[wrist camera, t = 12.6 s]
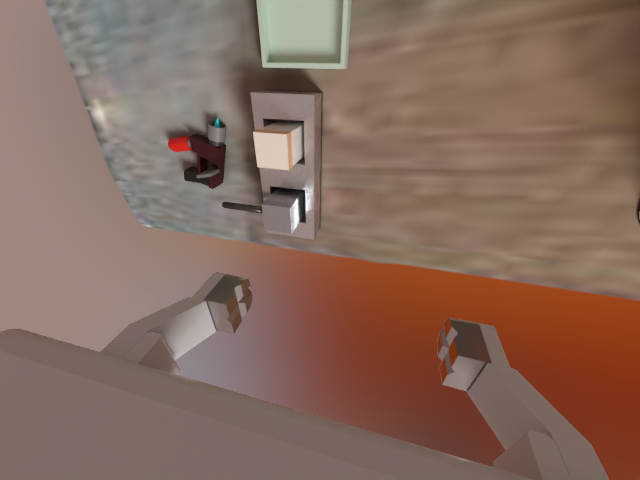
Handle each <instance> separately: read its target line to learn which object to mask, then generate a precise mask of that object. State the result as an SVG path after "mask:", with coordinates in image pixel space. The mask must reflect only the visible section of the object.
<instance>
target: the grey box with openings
mask: <svg viewBox="0 0 640 480" xmlns="http://www.w3.org/2000/svg"><path fill="white" fill-rule="evenodd" d="M250 94H251V102H252V111H253V119H254V127H255V130H257V129H261V128H263V127H265V126H268V125H270V124H272V123H274V122H277V121H279V120H283V121H300V122H304V150H305V155H304V156H303V157H302V158H301V159H300V160H299V161H298V162H297V163H296V164H295V165H294V166H293V167H292V168H291V169H290V170H280V169H270V168H260V167H259V168H260V177H261V185H262V193H263V202H262V203H261V204H262V207H260V206H253V205H245V204H238V203H230V202H223V203H222V206H223V207H224V208H229V209H236V210H243V211H251V212H258V213H263V220H264V228H265V230H267V232H269V233H275V234H282V235H288V236H295V237H301V238H308V239H315V237H316V235H317V233H318V231H319V228H320V215H321V156H322V96H323V92H304V91H277V90H261V91H255V92H250Z"/></svg>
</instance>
